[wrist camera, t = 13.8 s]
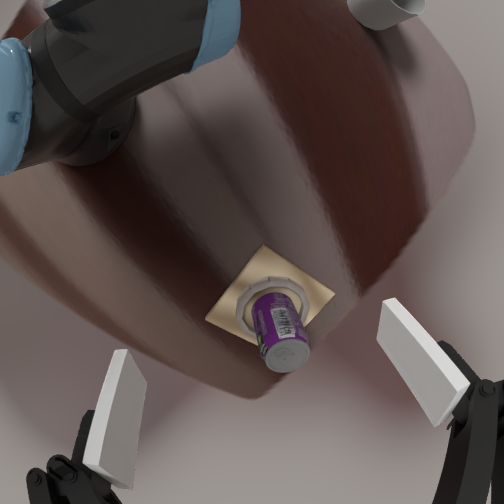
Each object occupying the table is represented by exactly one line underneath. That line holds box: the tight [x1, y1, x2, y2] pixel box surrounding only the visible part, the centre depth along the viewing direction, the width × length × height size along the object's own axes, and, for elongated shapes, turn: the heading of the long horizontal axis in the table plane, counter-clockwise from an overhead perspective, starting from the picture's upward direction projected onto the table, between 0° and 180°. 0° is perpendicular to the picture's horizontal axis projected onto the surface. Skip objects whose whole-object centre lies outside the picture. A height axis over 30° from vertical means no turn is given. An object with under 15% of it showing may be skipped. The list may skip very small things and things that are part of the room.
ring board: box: [205, 244, 335, 345], centre depth 46 cm, size 16×16×2 cm
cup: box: [347, 0, 426, 30], centre depth 24 cm, size 8×8×10 cm
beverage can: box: [251, 292, 310, 373], centre depth 41 cm, size 7×7×12 cm
